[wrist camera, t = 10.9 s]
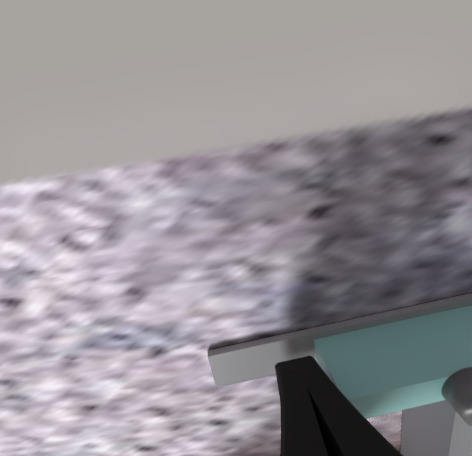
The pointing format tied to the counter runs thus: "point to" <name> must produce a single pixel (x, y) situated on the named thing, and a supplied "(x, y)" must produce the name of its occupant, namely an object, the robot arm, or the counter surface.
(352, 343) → the teal long flat bar
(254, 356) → the housing
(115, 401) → the counter surface
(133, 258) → the counter surface
